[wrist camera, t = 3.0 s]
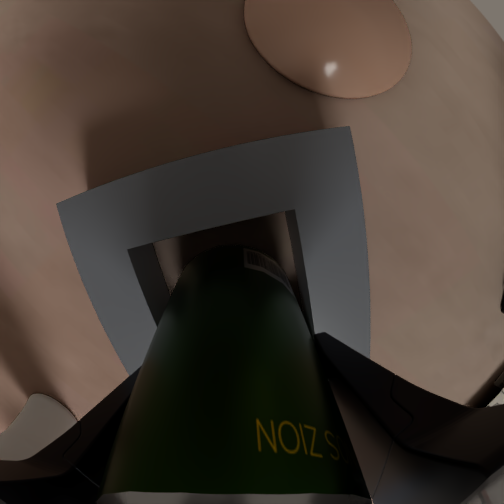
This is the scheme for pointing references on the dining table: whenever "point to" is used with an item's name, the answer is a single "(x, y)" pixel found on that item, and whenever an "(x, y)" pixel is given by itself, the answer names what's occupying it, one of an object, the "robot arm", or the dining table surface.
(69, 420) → the cup
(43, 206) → the dining table surface
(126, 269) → the square frame
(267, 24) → the coaster
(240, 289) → the beer can
